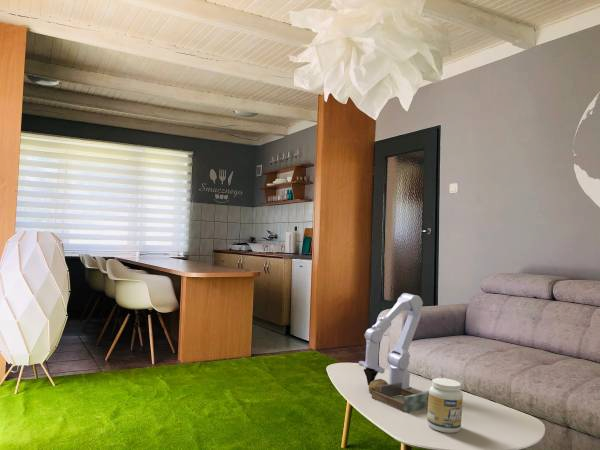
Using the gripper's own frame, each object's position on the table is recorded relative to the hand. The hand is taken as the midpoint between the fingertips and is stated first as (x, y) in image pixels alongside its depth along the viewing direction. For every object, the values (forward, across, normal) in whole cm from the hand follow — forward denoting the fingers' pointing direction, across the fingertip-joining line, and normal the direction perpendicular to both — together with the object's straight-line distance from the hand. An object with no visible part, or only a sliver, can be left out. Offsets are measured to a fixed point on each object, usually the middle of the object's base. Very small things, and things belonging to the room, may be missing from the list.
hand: (370, 385), depth 223 cm
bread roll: (+2, +6, 0) cm, 6 cm away
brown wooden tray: (+2, +18, 0) cm, 18 cm away
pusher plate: (+2, +12, 0) cm, 13 cm away
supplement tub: (+2, +46, -7) cm, 46 cm away
